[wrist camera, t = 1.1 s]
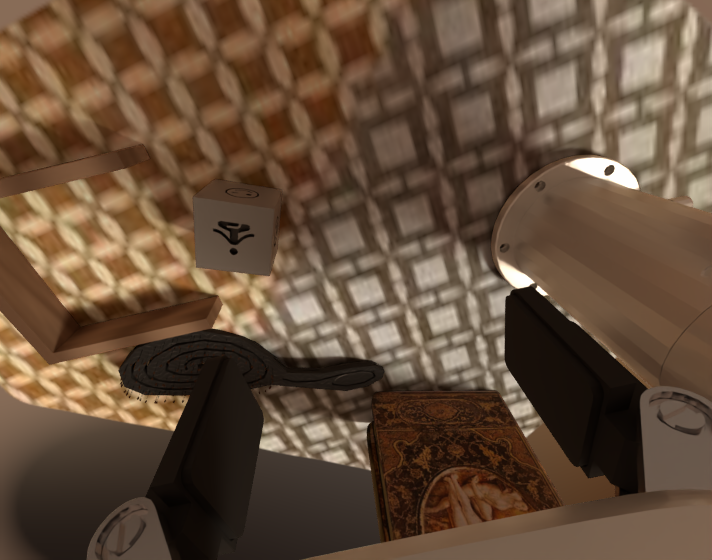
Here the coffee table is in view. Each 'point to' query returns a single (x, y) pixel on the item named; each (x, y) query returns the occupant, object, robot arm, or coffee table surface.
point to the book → (450, 462)
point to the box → (46, 313)
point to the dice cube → (236, 227)
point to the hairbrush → (218, 343)
